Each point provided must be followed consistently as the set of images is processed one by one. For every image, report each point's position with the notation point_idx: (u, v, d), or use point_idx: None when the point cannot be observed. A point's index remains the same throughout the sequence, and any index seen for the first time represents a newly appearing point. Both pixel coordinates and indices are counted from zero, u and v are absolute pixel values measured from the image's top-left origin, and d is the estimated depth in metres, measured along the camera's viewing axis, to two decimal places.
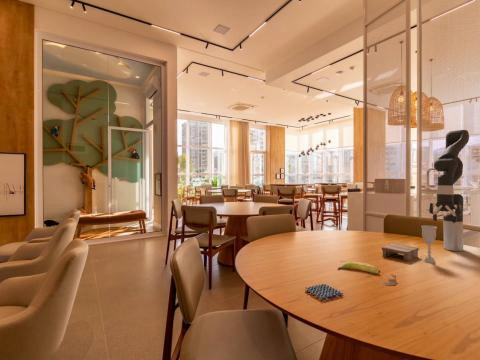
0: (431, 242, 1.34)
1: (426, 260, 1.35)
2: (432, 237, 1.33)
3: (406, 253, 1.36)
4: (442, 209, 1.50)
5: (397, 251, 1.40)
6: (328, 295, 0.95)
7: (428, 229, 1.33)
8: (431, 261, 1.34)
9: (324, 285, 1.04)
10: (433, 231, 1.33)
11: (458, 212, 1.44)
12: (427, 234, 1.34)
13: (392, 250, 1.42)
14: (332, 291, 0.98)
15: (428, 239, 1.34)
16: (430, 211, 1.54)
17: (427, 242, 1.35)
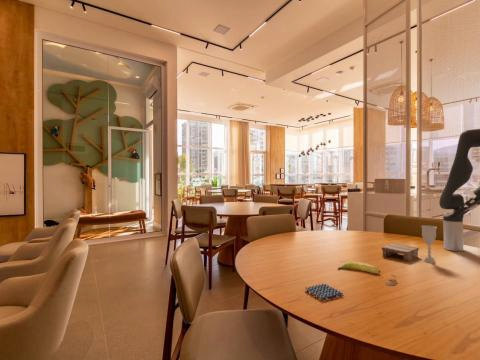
0: (431, 242, 1.34)
1: (426, 260, 1.35)
2: (432, 237, 1.33)
3: (406, 253, 1.36)
4: None
5: (397, 251, 1.40)
6: (328, 295, 0.95)
7: (428, 229, 1.33)
8: (431, 261, 1.34)
9: (324, 285, 1.04)
10: (433, 231, 1.33)
11: None
12: (427, 234, 1.34)
13: (392, 250, 1.42)
14: (332, 291, 0.98)
15: (428, 239, 1.34)
16: (466, 209, 1.18)
17: (427, 242, 1.35)
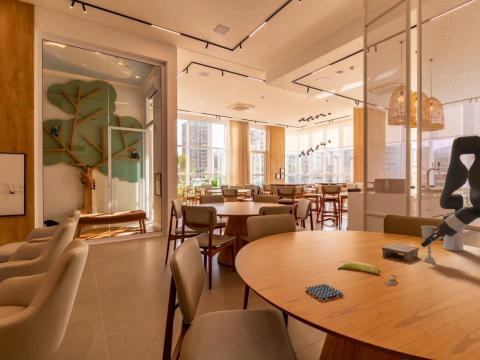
0: None
1: (426, 260, 1.35)
2: None
3: (406, 253, 1.36)
4: (438, 237, 1.32)
5: (397, 251, 1.40)
6: (328, 295, 0.95)
7: (428, 229, 1.33)
8: (431, 261, 1.34)
9: (324, 285, 1.04)
10: (433, 231, 1.33)
11: None
12: (427, 234, 1.34)
13: (392, 250, 1.42)
14: (332, 291, 0.98)
15: None
16: (431, 242, 1.30)
17: None
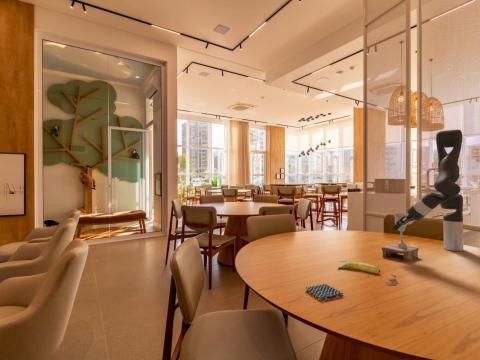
0: (403, 229, 1.44)
1: (399, 246, 1.45)
2: None
3: (406, 253, 1.36)
4: None
5: (397, 251, 1.40)
6: (328, 295, 0.95)
7: (399, 217, 1.43)
8: (403, 246, 1.44)
9: (325, 285, 1.03)
10: None
11: None
12: None
13: (392, 250, 1.42)
14: (332, 291, 0.98)
15: None
16: (400, 225, 1.39)
17: (399, 229, 1.45)
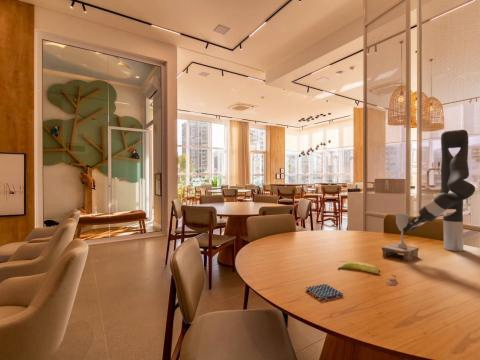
0: None
1: (399, 245, 1.45)
2: (404, 224, 1.43)
3: (406, 253, 1.36)
4: None
5: (397, 251, 1.40)
6: (328, 295, 0.95)
7: (401, 216, 1.44)
8: (403, 246, 1.44)
9: (325, 285, 1.03)
10: (405, 218, 1.43)
11: None
12: (400, 221, 1.44)
13: (392, 250, 1.42)
14: (332, 291, 0.98)
15: (401, 226, 1.44)
16: (412, 226, 1.34)
17: (400, 229, 1.45)
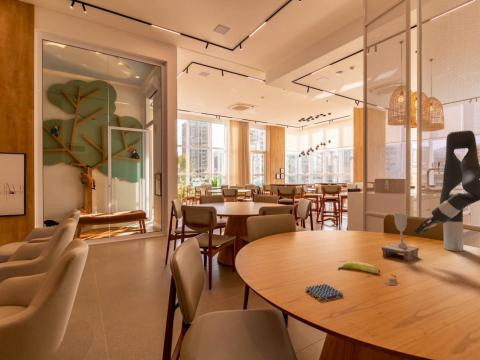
0: (402, 229, 1.44)
1: (399, 246, 1.45)
2: (403, 224, 1.43)
3: (406, 253, 1.36)
4: None
5: (397, 251, 1.40)
6: (328, 295, 0.95)
7: (399, 217, 1.44)
8: (403, 246, 1.44)
9: (325, 285, 1.03)
10: (404, 218, 1.43)
11: None
12: (398, 221, 1.44)
13: (392, 250, 1.42)
14: (332, 291, 0.98)
15: (400, 226, 1.44)
16: (424, 228, 1.30)
17: (399, 229, 1.45)
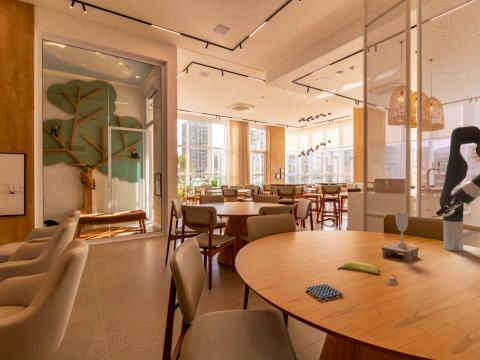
0: (403, 229, 1.43)
1: (399, 246, 1.45)
2: (404, 224, 1.42)
3: (406, 253, 1.36)
4: None
5: (397, 251, 1.40)
6: (328, 295, 0.95)
7: (401, 217, 1.42)
8: (403, 246, 1.44)
9: (325, 285, 1.03)
10: (405, 219, 1.42)
11: None
12: (400, 222, 1.43)
13: (392, 250, 1.42)
14: (332, 291, 0.98)
15: (401, 226, 1.43)
16: (447, 209, 1.25)
17: (400, 229, 1.44)
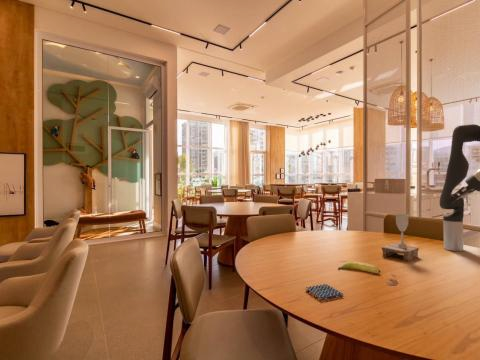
0: (404, 229, 1.44)
1: (399, 246, 1.45)
2: (404, 224, 1.43)
3: (406, 253, 1.36)
4: None
5: (397, 251, 1.40)
6: (327, 295, 0.95)
7: (401, 217, 1.43)
8: (404, 246, 1.44)
9: (325, 285, 1.03)
10: (405, 218, 1.43)
11: None
12: (400, 221, 1.44)
13: (392, 250, 1.42)
14: (332, 291, 0.98)
15: (401, 226, 1.44)
16: (459, 197, 1.24)
17: (400, 229, 1.45)
